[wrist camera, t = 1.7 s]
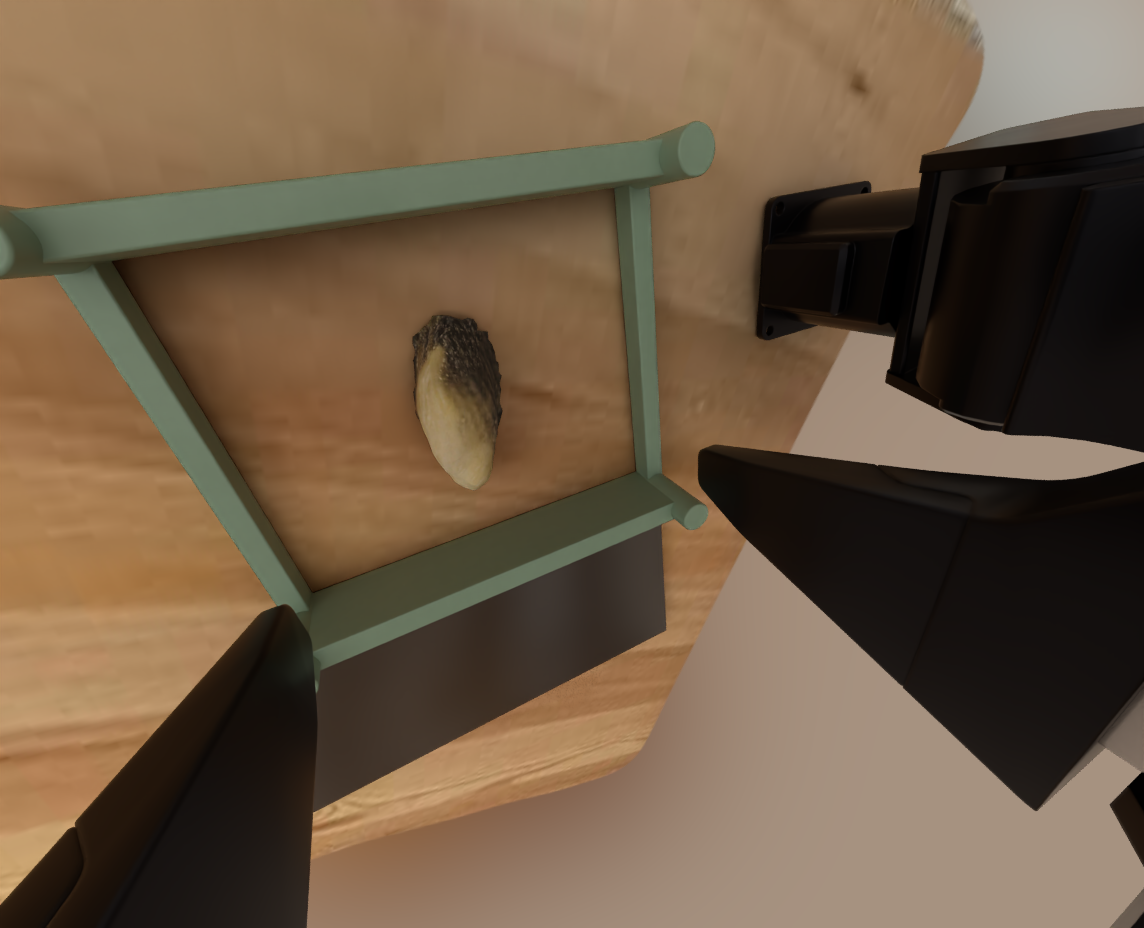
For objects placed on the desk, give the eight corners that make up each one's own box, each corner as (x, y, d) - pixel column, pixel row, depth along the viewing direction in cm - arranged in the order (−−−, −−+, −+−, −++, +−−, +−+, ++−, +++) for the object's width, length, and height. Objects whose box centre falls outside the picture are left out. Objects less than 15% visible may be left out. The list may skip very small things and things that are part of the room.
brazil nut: (478, 489, 20) (504, 505, 17) (364, 456, 17) (374, 471, 14) (526, 355, 20) (559, 352, 17) (420, 302, 17) (440, 289, 14)
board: (652, 502, 25) (660, 509, 24) (659, 622, 30) (666, 630, 29) (211, 682, 18) (206, 698, 18) (313, 797, 23) (312, 813, 23)
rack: (636, 147, 17) (716, 118, 13) (654, 482, 24) (708, 524, 21) (27, 218, 11) (-130, 202, 8) (296, 623, 19) (282, 713, 15)
